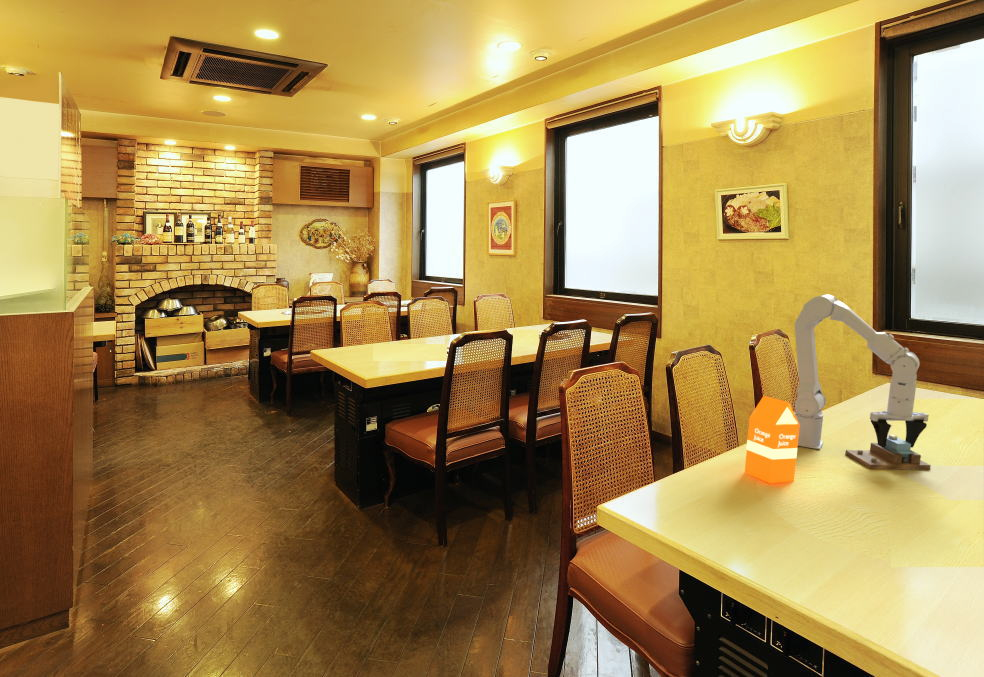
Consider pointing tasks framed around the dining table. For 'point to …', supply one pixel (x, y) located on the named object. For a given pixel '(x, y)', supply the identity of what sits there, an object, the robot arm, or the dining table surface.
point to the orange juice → (772, 441)
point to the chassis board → (886, 459)
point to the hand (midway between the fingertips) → (895, 446)
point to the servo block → (899, 447)
